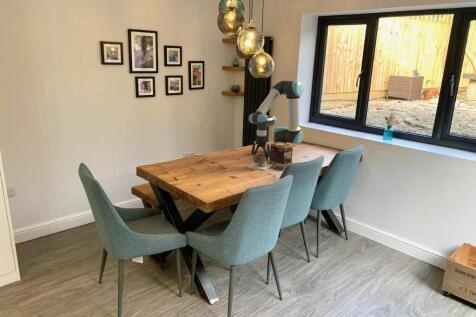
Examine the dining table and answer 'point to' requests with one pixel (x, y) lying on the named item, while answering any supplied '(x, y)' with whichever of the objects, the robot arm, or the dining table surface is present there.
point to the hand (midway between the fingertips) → (260, 163)
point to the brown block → (259, 158)
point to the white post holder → (259, 166)
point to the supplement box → (281, 153)
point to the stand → (279, 166)
